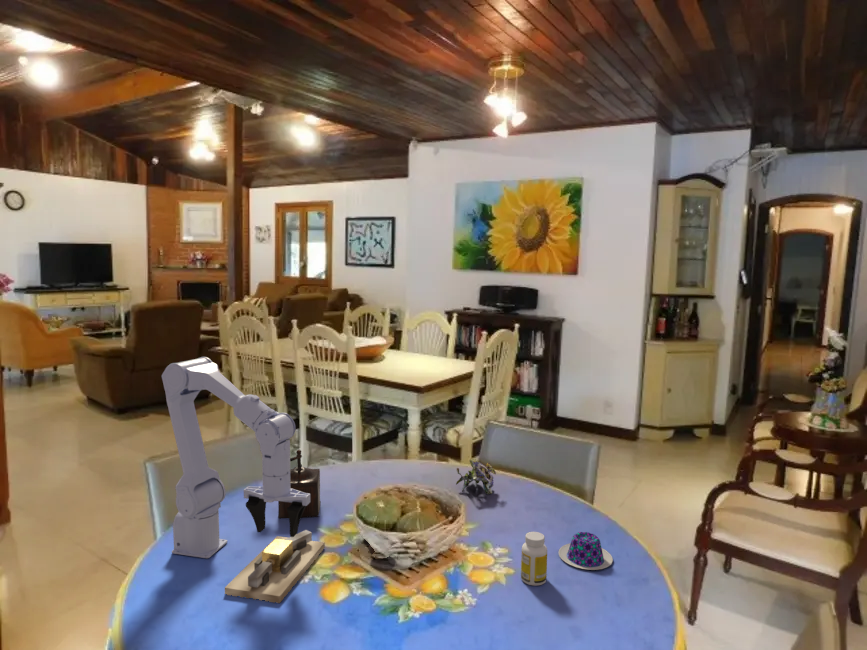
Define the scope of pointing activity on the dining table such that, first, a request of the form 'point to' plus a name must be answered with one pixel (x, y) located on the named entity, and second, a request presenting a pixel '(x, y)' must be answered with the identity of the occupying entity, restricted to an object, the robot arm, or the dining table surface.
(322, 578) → the dining table surface
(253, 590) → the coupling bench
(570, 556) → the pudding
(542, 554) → the supplement bottle
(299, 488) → the brown manual coffee grinder
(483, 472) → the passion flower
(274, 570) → the block
